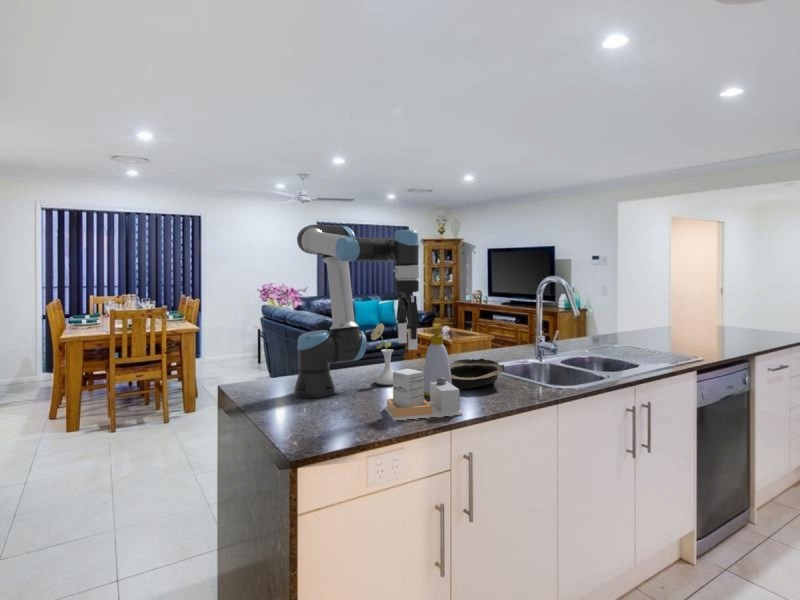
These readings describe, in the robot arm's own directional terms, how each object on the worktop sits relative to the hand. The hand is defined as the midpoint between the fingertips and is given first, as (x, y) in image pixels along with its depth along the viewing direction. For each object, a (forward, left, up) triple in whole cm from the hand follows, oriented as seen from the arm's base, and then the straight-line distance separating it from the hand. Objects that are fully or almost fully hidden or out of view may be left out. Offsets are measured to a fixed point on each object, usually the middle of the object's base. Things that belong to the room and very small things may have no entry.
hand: (407, 346), depth 151 cm
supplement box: (0, 0, -21) cm, 21 cm away
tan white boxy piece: (+5, 0, -22) cm, 22 cm away
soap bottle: (+16, +20, -22) cm, 34 cm away
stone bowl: (+33, +28, -22) cm, 48 cm away
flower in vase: (+1, +41, -22) cm, 46 cm away
